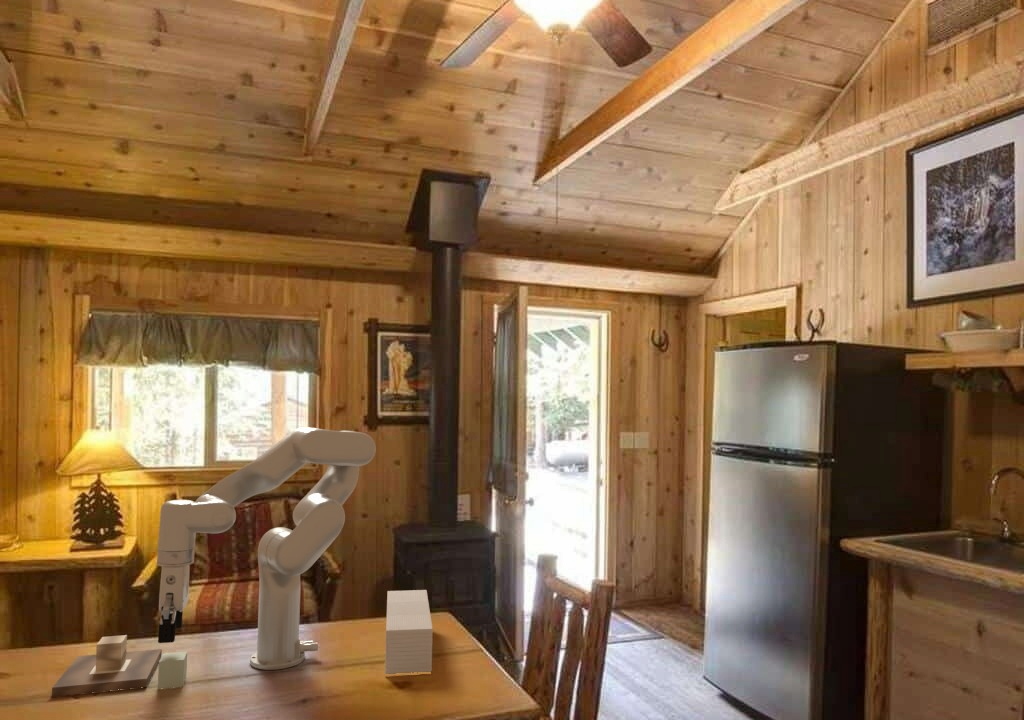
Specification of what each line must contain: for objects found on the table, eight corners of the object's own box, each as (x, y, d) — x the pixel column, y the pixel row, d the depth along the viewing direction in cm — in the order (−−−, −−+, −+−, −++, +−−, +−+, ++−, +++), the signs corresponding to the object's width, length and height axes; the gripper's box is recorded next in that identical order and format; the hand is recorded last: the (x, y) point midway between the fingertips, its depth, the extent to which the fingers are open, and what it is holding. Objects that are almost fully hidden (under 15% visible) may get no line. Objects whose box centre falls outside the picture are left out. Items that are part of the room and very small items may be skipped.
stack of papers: (431, 675, 162) (432, 628, 163) (385, 678, 161) (386, 630, 161) (425, 629, 194) (426, 589, 194) (386, 630, 192) (387, 590, 193)
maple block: (125, 661, 162) (126, 635, 162) (120, 669, 157) (121, 642, 157) (101, 663, 160) (102, 636, 161) (95, 671, 156) (96, 644, 156)
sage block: (186, 678, 158) (187, 651, 158) (182, 687, 153) (183, 659, 154) (161, 680, 157) (162, 653, 157) (157, 689, 152) (158, 661, 152)
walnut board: (161, 657, 170) (161, 648, 170) (146, 687, 153) (146, 678, 153) (76, 664, 165) (77, 655, 165) (51, 697, 147) (52, 687, 147)
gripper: (188, 565, 149) (182, 647, 148) (199, 548, 166) (193, 622, 164) (149, 566, 147) (143, 649, 146) (164, 548, 163) (158, 623, 162)
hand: (170, 634), depth 155 cm, fingers open, 9 cm apart
